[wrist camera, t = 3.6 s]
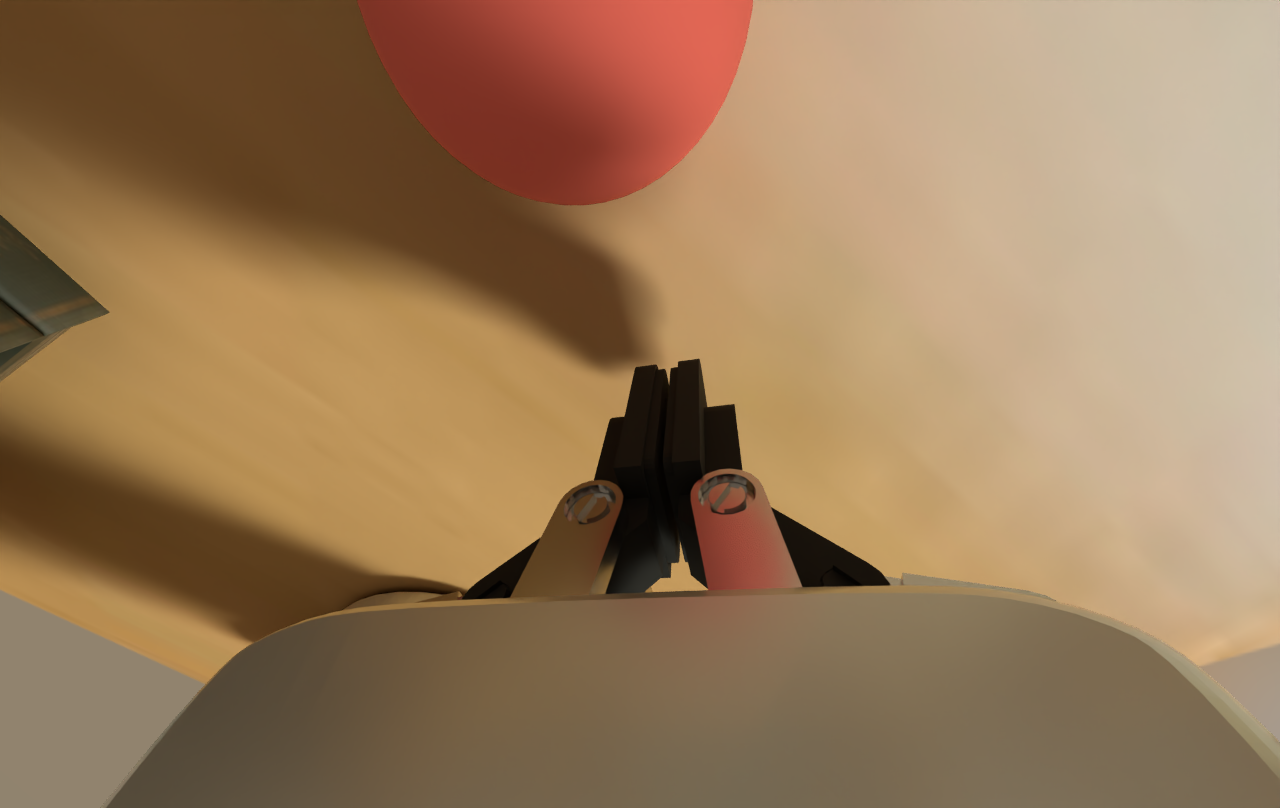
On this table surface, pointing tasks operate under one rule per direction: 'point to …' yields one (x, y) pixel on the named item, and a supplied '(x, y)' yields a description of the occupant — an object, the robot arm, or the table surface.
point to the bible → (35, 300)
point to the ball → (562, 85)
